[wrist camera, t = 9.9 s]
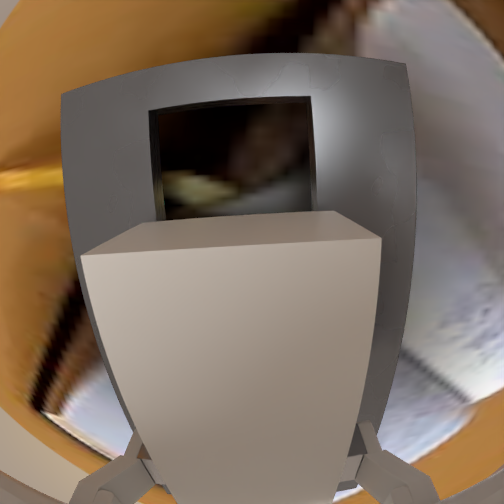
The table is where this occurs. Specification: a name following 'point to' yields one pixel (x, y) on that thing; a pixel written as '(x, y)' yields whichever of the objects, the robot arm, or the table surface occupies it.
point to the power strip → (241, 348)
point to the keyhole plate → (320, 151)
